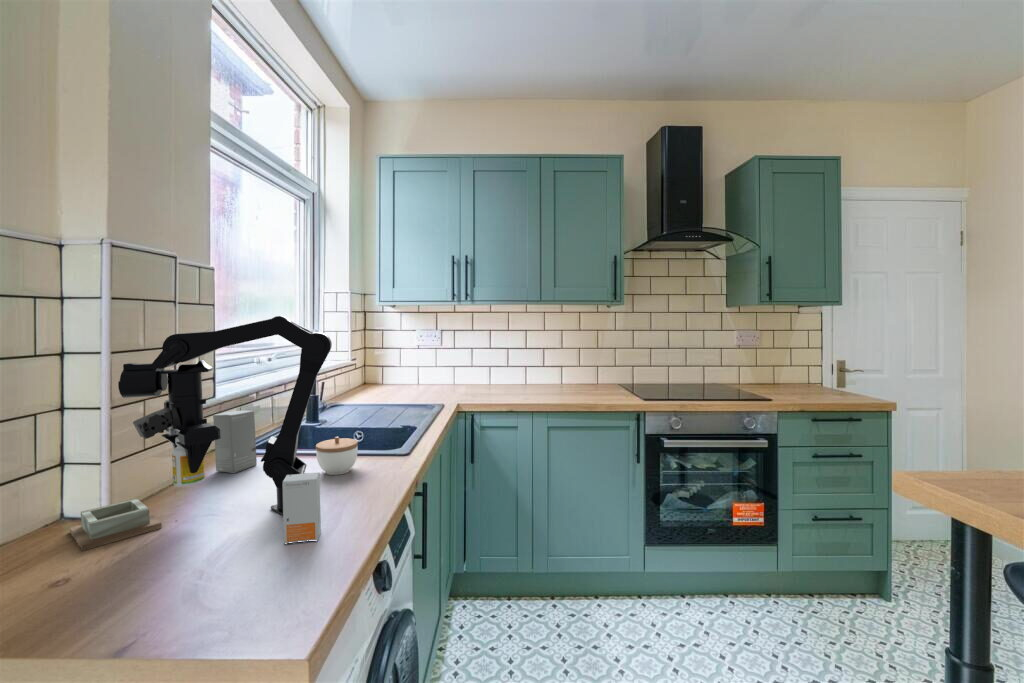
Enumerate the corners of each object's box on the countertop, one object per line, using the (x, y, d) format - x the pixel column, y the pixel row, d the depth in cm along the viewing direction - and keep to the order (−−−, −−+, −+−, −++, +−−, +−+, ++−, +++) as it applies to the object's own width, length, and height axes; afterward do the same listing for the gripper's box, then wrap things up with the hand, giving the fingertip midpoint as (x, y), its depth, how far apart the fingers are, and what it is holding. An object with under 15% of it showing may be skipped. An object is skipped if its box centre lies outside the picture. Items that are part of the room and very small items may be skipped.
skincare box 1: (233, 474, 129) (231, 415, 128) (213, 471, 131) (210, 414, 130) (258, 464, 137) (256, 409, 136) (239, 462, 139) (237, 408, 138)
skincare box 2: (283, 545, 88) (281, 481, 88) (288, 535, 92) (286, 474, 92) (318, 541, 90) (316, 478, 89) (321, 531, 94) (320, 471, 93)
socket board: (161, 527, 96) (160, 508, 96) (82, 550, 87) (81, 529, 87) (144, 512, 104) (143, 494, 104) (69, 532, 95) (68, 512, 94)
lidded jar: (357, 463, 137) (356, 430, 137) (359, 474, 127) (358, 439, 127) (316, 468, 134) (315, 434, 133) (316, 480, 124) (315, 444, 123)
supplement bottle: (211, 478, 101) (209, 433, 101) (191, 488, 96) (189, 439, 96) (187, 478, 102) (185, 432, 101) (166, 487, 97) (164, 439, 96)
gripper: (123, 395, 98) (127, 471, 99) (151, 405, 86) (155, 491, 87) (187, 388, 106) (190, 458, 107) (220, 397, 95) (223, 475, 95)
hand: (189, 470), depth 99 cm, fingers closed on supplement bottle, 5 cm apart
